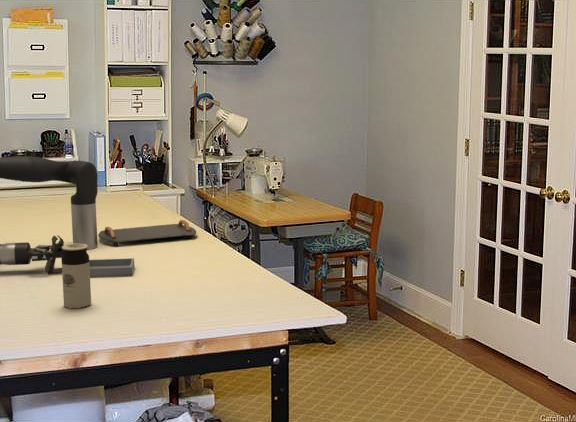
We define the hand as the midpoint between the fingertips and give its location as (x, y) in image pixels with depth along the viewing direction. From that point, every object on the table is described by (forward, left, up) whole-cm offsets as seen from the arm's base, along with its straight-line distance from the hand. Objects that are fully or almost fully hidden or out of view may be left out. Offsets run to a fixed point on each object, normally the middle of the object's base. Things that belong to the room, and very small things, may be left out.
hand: (65, 252), depth 317 cm
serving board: (-52, +26, -7) cm, 58 cm away
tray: (+4, +15, -7) cm, 17 cm away
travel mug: (+44, +9, -7) cm, 45 cm away
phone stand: (0, -2, -7) cm, 7 cm away
